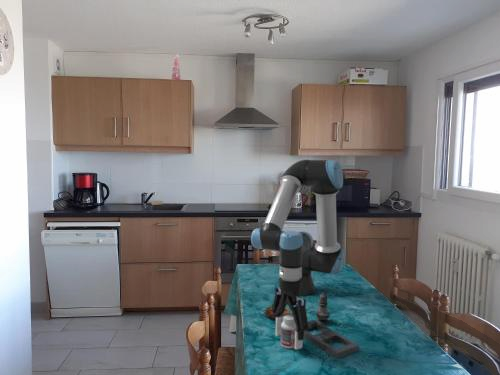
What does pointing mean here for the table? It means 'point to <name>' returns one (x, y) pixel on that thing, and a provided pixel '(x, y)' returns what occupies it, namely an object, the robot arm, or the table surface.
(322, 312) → the grey chess piece
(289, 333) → the pill bottle
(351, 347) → the grey rectangular frame
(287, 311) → the bread roll
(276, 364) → the table surface
